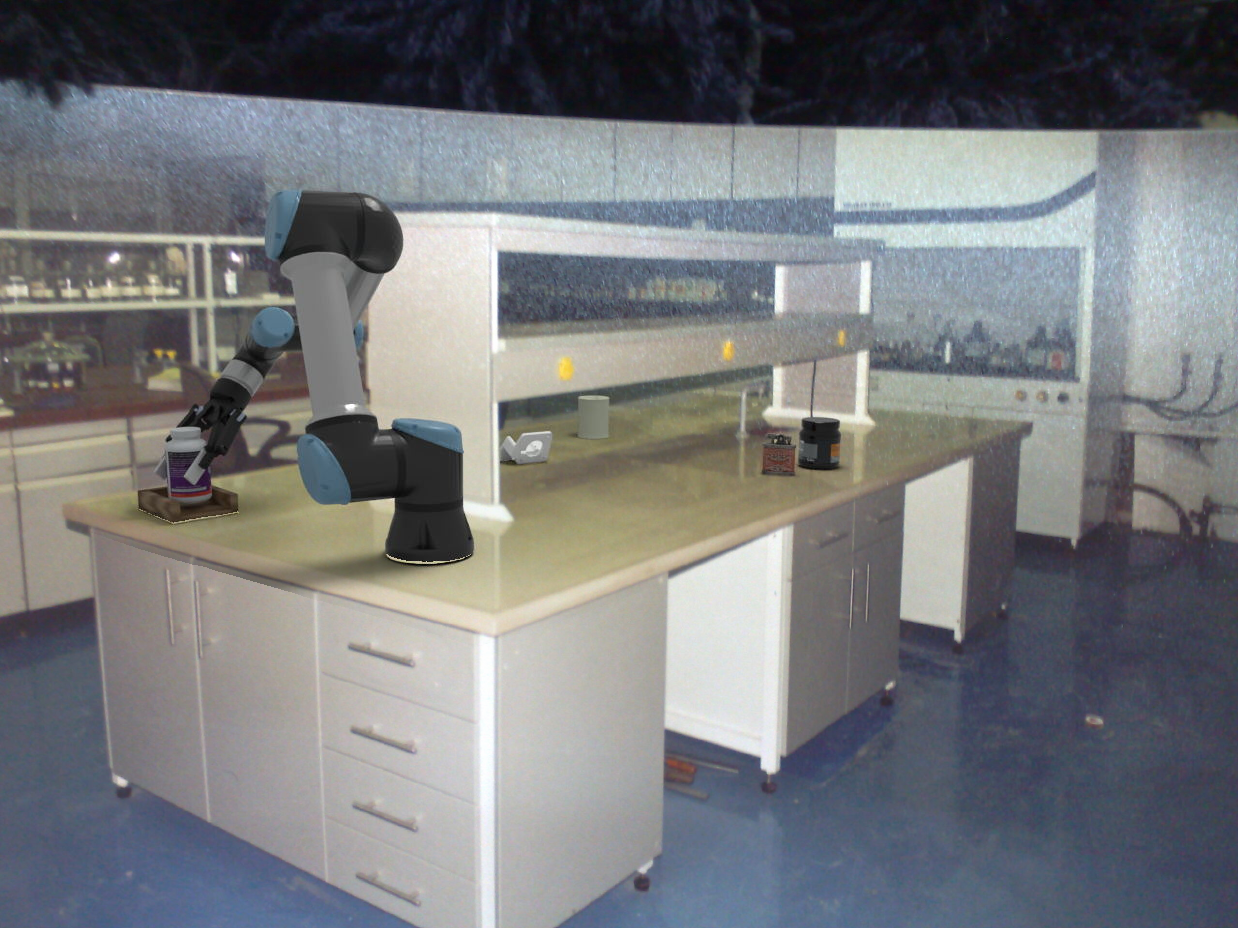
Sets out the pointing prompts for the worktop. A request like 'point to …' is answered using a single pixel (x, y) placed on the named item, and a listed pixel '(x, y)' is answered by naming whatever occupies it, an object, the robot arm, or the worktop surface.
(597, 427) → the can
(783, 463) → the lighter
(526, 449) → the mounting bracket
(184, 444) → the pill bottle
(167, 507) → the slot tray
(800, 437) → the supplement container
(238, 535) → the worktop surface
